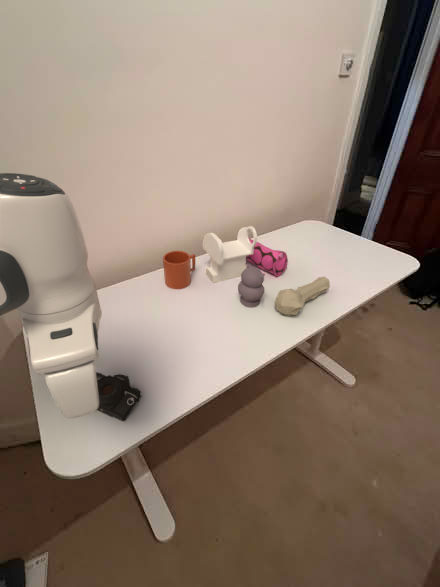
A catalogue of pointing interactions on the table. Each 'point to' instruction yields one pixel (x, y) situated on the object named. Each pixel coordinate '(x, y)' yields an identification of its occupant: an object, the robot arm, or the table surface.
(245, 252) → the tape dispenser
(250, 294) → the cat figurine
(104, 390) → the film camera
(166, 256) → the mug
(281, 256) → the pencil case
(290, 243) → the table surface
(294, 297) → the faceted club
